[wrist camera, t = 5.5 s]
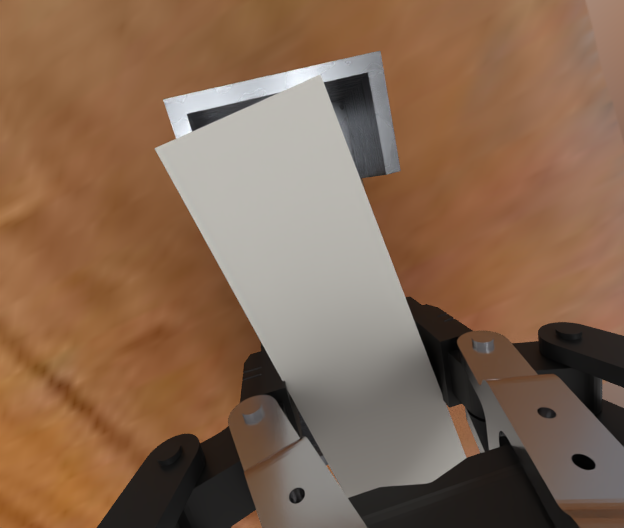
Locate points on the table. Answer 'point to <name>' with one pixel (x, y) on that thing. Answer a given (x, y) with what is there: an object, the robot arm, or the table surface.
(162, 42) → the table surface
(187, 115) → the grey boxes
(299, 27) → the table surface
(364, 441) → the block
